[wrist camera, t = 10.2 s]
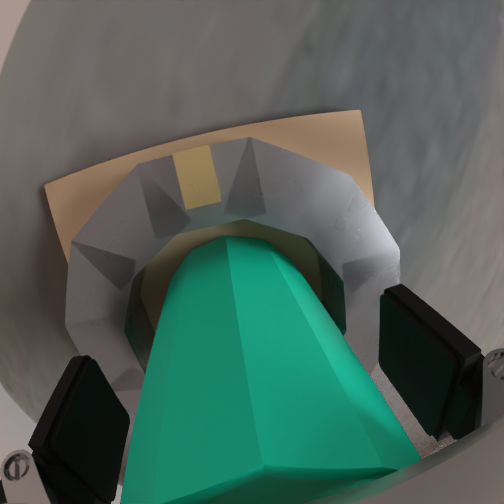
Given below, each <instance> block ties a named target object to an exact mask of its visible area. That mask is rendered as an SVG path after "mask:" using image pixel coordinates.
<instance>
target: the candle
mask: <svg viewBox="0 0 504 504" xmlns="http://www.w3.org/2000/svg"><path fill="white" fill-rule="evenodd" d="M420 460H422V459H421V457H420V455H419V454H418V452H417V451H416V449H415V447H414V446H413V444H412V442H411V441H410V439H409V437H408V436H407V434H406V433H405V431H404V429H403V428H402V426H401V425H400V423H399V421H398V420H397V418H396V417H395V415H394V413H393V412H392V410H391V409H390V407H389V405H388V404H387V402H386V401H385V399H384V398H383V396H382V394H381V393H380V391H379V390H378V388H377V387H376V385H375V384H374V382H373V380H372V379H371V377H370V376H369V374H368V373H367V371H366V370H365V368H364V367H363V365H362V363H361V362H360V360H359V359H358V357H357V356H356V354H355V353H354V351H353V350H352V348H351V347H350V345H349V344H348V342H347V341H346V339H345V338H344V336H343V335H342V333H341V332H340V330H339V329H338V327H337V326H336V324H335V323H334V321H333V320H332V318H331V317H330V315H329V314H328V312H327V311H326V309H325V308H324V306H323V305H322V303H321V302H320V300H319V299H318V297H317V296H316V294H315V293H314V291H313V290H312V289H311V287H310V286H309V284H308V283H307V281H306V280H305V278H304V277H303V275H302V274H301V273H300V271H299V270H298V268H297V267H296V265H295V264H294V262H293V261H292V260H291V259H290V258H289V257H288V256H286V255H285V254H284V253H282V252H281V251H279V250H278V249H277V248H275V247H274V246H272V245H271V244H270V243H268V242H267V241H265V240H264V239H261V238H250V237H240V236H229V235H225V236H222V237H220V238H218V239H216V240H213V241H211V242H209V243H207V244H204V245H202V246H200V247H198V248H195V249H193V250H191V251H190V253H189V254H188V255H187V257H186V258H185V260H184V261H183V262H182V264H181V265H180V267H179V268H178V270H177V271H176V273H175V274H174V275H173V277H172V278H171V281H170V284H169V288H168V291H167V294H166V298H165V301H164V305H163V308H162V312H161V315H160V319H159V323H158V326H157V330H156V334H155V338H154V341H153V345H152V349H151V353H150V357H149V361H148V365H147V369H146V373H145V377H144V382H143V386H142V390H141V395H140V399H139V403H138V408H137V413H136V417H135V422H134V427H133V432H132V437H131V442H130V447H129V453H128V458H127V464H126V470H125V476H124V482H123V488H122V495H121V502H120V504H302V503H306V502H310V501H314V500H317V499H321V498H325V497H328V496H331V495H335V494H338V493H341V492H344V491H347V490H350V489H353V488H356V487H359V486H361V485H364V484H367V483H369V482H372V481H375V480H377V479H380V478H382V477H385V476H387V475H389V474H392V473H394V472H396V471H398V470H401V469H403V468H405V467H407V466H409V465H411V464H414V463H416V462H418V461H420Z"/></svg>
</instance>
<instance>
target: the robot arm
mask: <svg viewBox="0 0 504 504" xmlns="http://www.w3.org/2000/svg"><path fill="white" fill-rule="evenodd" d="M378 361H379V365H380V367H381V369H382V370H383V372H384V373H385V375H386V376H387V377H388V379H389V380H390V382H391V383H392V384H393V386H394V387H395V389H396V390H397V391H398V393H399V394H400V396H401V397H402V399H403V400H404V401H405V403H406V404H407V406H408V407H409V409H410V410H411V412H412V413H413V414H414V416H415V417H416V419H417V420H418V422H419V423H420V425H421V426H422V428H423V429H424V431H425V432H426V433H427V434H428V435H429V436H432V435H433V436H434V437H435V439H436V440H437V442H438V441H440V440H442V439H443V438H445V437H447V436H449V435H451V436H452V437H453V439H455V441H454V443H452V444H451V445H449V446H447V447H445V448H443V449H441V450H440V451H438V452H436V453H434V454H432V455H430V456H428V457H426V458H424V459H422V460H420V461H418V462H416V463H414V464H411V465H409V466H407V467H405V468H403V469H401V470H398V471H396V472H394V473H392V474H389V475H387V476H385V477H382V478H380V479H377V480H375V481H372V482H369V483H367V484H364V485H361V486H359V487H356V488H353V489H350V490H347V491H344V492H341V493H338V494H335V495H331V496H328V497H325V498H321V499H317V500H314V501H310V502H306V503H302V504H504V348H501V349H496V350H493V351H491V352H490V353H488V354H487V355H486V357H484V356H483V355H482V354H481V349H480V348H479V347H478V346H476V345H475V344H474V343H473V342H472V341H471V340H470V339H468V338H467V337H466V336H465V335H464V334H463V333H462V332H460V331H459V330H458V329H457V328H456V327H454V326H453V325H452V324H451V323H450V322H449V321H447V320H446V319H445V318H444V317H443V316H441V315H440V314H439V313H438V312H437V311H435V310H434V309H433V308H432V307H430V306H429V305H428V304H427V303H426V302H424V301H423V300H422V299H421V298H419V297H418V296H417V295H416V294H414V293H413V292H412V291H411V290H409V289H408V288H407V287H405V286H404V285H403V284H398V285H395V286H392V287H389V288H386V289H385V290H384V294H382V295H381V296H380V326H379V355H378ZM129 424H130V418H129V415H128V413H127V411H126V410H125V408H124V407H123V405H122V403H121V402H120V400H119V399H118V397H117V396H116V394H115V392H114V391H113V389H112V387H111V386H110V384H109V382H108V381H107V379H106V377H105V375H104V374H103V372H102V370H101V368H100V367H99V365H98V363H97V361H96V360H95V359H92V358H91V357H90V356H88V355H84V356H76V357H73V358H72V359H71V360H70V362H69V364H68V366H67V368H66V369H65V371H64V373H63V375H62V377H61V379H60V380H59V382H58V384H57V386H56V388H55V390H54V392H53V394H52V396H51V398H50V400H49V401H48V403H47V405H46V407H45V409H44V411H43V413H42V416H41V418H40V420H39V422H38V424H37V426H36V428H35V430H34V432H33V435H32V437H31V439H30V441H29V443H28V445H29V447H30V448H31V449H32V450H33V453H32V455H31V454H30V453H29V452H28V451H25V450H16V451H14V452H12V453H10V454H9V455H8V456H7V457H6V458H5V459H4V461H3V462H2V465H1V468H0V474H1V480H0V504H111V501H114V499H115V496H116V490H117V484H118V479H119V473H120V468H121V463H122V457H123V453H124V448H125V443H126V438H127V433H128V429H129Z"/></svg>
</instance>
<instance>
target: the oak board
mask: <svg viewBox="0 0 504 504" xmlns="http://www.w3.org/2000/svg"><path fill="white" fill-rule="evenodd" d="M247 137H252V138H255V139H257V140H260V141H263V142H266V143H269V144H272V145H275V146H278V147H280V148H283V149H286V150H289V151H291V152H294V153H297V154H299V155H302V156H305V157H307V158H310V159H312V160H315V161H317V162H320V163H322V164H325V165H327V166H330V167H332V168H335V169H337V170H339V171H342V172H344V173H346V174H350V175H351V176H352V178H353V179H354V181H355V182H356V183H357V185H358V186H359V188H360V189H361V190H362V192H363V193H364V195H365V196H366V198H367V199H368V201H369V202H370V204H371V205H372V207H373V208H374V199H373V190H372V181H371V173H370V166H369V159H368V152H367V145H366V139H365V133H364V127H363V122H362V116H361V111H360V110H352V111H341V112H330V113H321V114H313V115H305V116H297V117H290V118H283V119H277V120H271V121H265V122H259V123H253V124H248V125H243V126H238V127H233V128H228V129H223V130H218V131H214V132H209V133H205V134H201V135H196V136H192V137H188V138H184V139H180V140H176V141H173V142H169V143H165V144H161V145H158V146H154V147H151V148H147V149H144V150H141V151H137V152H134V153H131V154H128V155H124V156H121V157H118V158H115V159H112V160H109V161H106V162H103V163H100V164H97V165H95V166H92V167H89V168H86V169H84V170H81V171H78V172H76V173H73V174H70V175H68V176H65V177H63V178H60V179H58V180H55V181H53V182H50V183H48V184H45V185H44V187H45V191H46V195H47V199H48V202H49V206H50V210H51V213H52V217H53V220H54V223H55V227H56V230H57V233H58V236H59V239H60V242H61V245H62V248H63V251H64V254H65V257H66V260H67V263H68V265H69V255H70V247H71V240H72V239H73V238H74V237H75V236H76V234H77V233H78V232H79V231H80V229H81V228H82V227H83V226H84V224H85V223H86V222H87V221H88V219H89V218H90V217H91V216H92V215H93V213H94V212H95V211H96V210H97V209H98V207H99V206H100V205H101V204H102V203H103V202H104V200H105V199H106V198H107V197H108V196H109V195H110V194H111V192H112V191H113V190H114V189H115V188H116V187H117V186H118V185H119V183H120V182H121V181H122V180H123V179H124V178H125V177H126V176H127V175H128V174H129V173H130V172H131V171H132V169H133V168H134V167H135V166H136V165H137V164H138V163H144V162H147V161H151V160H154V159H158V158H161V157H165V156H169V155H172V154H173V153H176V152H180V151H184V150H188V149H192V148H196V147H201V146H205V145H213V144H218V143H222V142H227V141H232V140H237V139H242V138H247ZM374 210H375V209H374ZM225 235H229V236H240V237H250V238H261V239H264V240H265V241H267V242H268V243H270V244H271V245H272V246H274V247H275V248H277V249H278V250H279V251H281V252H282V253H284V254H285V255H286V256H288V257H289V258H290V259H291V260H292V261H293V262H294V264H295V265H296V267H297V268H298V270H299V271H300V273H301V274H302V275H303V277H304V278H305V280H306V281H307V283H308V284H309V286H310V287H311V289H312V290H313V291H314V293H315V294H316V296H317V297H318V299H319V300H320V301H321V299H322V288H321V279H320V271H319V263H318V255H317V253H316V252H315V251H314V250H313V249H312V247H311V246H310V245H309V244H308V243H307V241H306V240H305V239H304V238H303V237H302V236H299V235H296V234H293V233H290V232H286V231H283V230H280V229H277V228H274V227H270V226H267V225H264V224H261V223H257V222H254V221H251V220H247V219H241V220H237V221H232V222H228V223H224V224H219V225H215V226H211V227H206V228H202V229H198V230H194V231H190V232H185V233H181V234H177V235H176V236H175V237H174V238H173V239H172V240H171V241H170V242H169V243H168V244H167V245H166V246H165V247H163V248H162V249H161V250H160V251H159V252H158V253H157V254H156V255H155V256H154V257H153V258H152V259H151V260H150V261H149V262H148V263H147V265H146V269H145V274H144V278H143V283H142V288H141V293H140V296H141V299H142V301H143V304H144V306H145V309H146V312H147V314H148V317H149V319H150V322H151V324H152V327H153V329H154V332H155V334H156V330H157V326H158V323H159V319H160V315H161V312H162V308H163V305H164V301H165V298H166V294H167V291H168V288H169V284H170V281H171V278H172V277H173V275H174V274H175V273H176V271H177V270H178V268H179V267H180V265H181V264H182V262H183V261H184V260H185V258H186V257H187V255H188V254H189V253H190V251H191V250H193V249H195V248H198V247H200V246H202V245H204V244H207V243H209V242H211V241H213V240H216V239H218V238H220V237H222V236H225ZM376 369H377V365H376V366H375V368H374V370H376Z"/></svg>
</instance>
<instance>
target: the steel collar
mask: <svg viewBox="0 0 504 504" xmlns="http://www.w3.org/2000/svg"><path fill="white" fill-rule="evenodd" d="M241 219H247V220H251V221H254V222H257V223H261V224H264V225H267V226H270V227H274V228H277V229H280V230H283V231H286V232H290V233H293V234H296V235H299V236H302V237H303V238H304V239H305V240H306V241H307V243H308V244H309V245H310V246H311V247H312V249H313V250H314V251H315V252H316V253H317V255H318V263H319V271H320V279H321V288H322V299H321V301H320V302H321V303H322V305H323V306H324V308H325V309H326V311H327V312H328V314H329V315H330V317H331V318H332V320H333V321H334V323H335V324H336V326H337V327H338V329H339V330H340V332H341V333H342V335H343V336H344V338H345V339H346V341H347V342H348V344H349V345H350V347H351V348H352V350H353V351H354V353H355V354H356V356H357V357H358V359H359V360H360V362H361V363H362V365H363V367H364V368H365V370H366V371H367V373H368V374H369V376H370V374H371V373H372V371H373V370H374V368H375V366H376V365H377V363H378V355H379V326H380V296H381V295H382V294H384V290H385V289H386V288H389V287H392V286H395V285H398V284H400V248H399V247H398V246H397V244H396V242H395V241H394V239H393V237H392V236H391V234H390V233H389V231H388V230H387V228H386V226H385V225H384V223H383V222H382V220H381V219H380V217H379V216H378V214H377V213H376V211H375V210H374V208H373V207H372V205H371V204H370V202H369V201H368V199H367V198H366V196H365V195H364V193H363V192H362V190H361V189H360V188H359V186H358V185H357V183H356V182H355V181H354V179H353V178H352V176H351V175H350V174H346V173H344V172H342V171H339V170H337V169H335V168H332V167H330V166H327V165H325V164H322V163H320V162H317V161H315V160H312V159H310V158H307V157H305V156H302V155H299V154H297V153H294V152H291V151H289V150H286V149H283V148H280V147H278V146H275V145H272V144H269V143H266V142H263V141H260V140H257V139H255V138H252V137H247V138H242V139H237V140H232V141H227V142H222V143H218V144H213V145H205V146H201V147H196V148H192V149H188V150H184V151H180V152H176V153H173V154H172V155H169V156H165V157H161V158H158V159H154V160H151V161H147V162H144V163H138V164H137V165H136V166H135V167H134V168H133V169H132V171H131V172H130V173H129V174H128V175H127V176H126V177H125V178H124V179H123V180H122V181H121V182H120V183H119V185H118V186H117V187H116V188H115V189H114V190H113V191H112V192H111V194H110V195H109V196H108V197H107V198H106V199H105V200H104V202H103V203H102V204H101V205H100V206H99V207H98V209H97V210H96V211H95V212H94V213H93V215H92V216H91V217H90V218H89V219H88V221H87V222H86V223H85V224H84V226H83V227H82V228H81V229H80V231H79V232H78V233H77V234H76V236H75V237H74V238H73V239H72V240H71V247H70V255H69V265H68V276H67V289H66V309H65V327H66V329H67V331H68V333H69V335H70V337H71V339H72V341H73V343H74V345H75V346H76V348H77V350H78V352H79V354H80V356H84V355H88V356H90V357H91V358H92V359H95V360H96V361H97V363H98V365H99V367H100V368H101V370H102V372H103V374H104V375H105V377H106V379H107V381H108V382H109V384H110V386H111V387H112V389H113V391H114V392H115V394H116V396H117V397H118V399H119V400H120V402H121V403H122V405H123V407H124V408H125V409H127V410H128V411H130V412H131V413H133V414H134V415H136V413H137V408H138V403H139V399H140V395H141V390H142V386H143V382H144V377H145V373H146V369H147V365H148V361H149V357H150V353H151V349H152V345H153V341H154V338H155V332H154V329H153V327H152V324H151V322H150V319H149V317H148V314H147V312H146V309H145V306H144V304H143V301H142V299H141V296H140V293H141V288H142V283H143V278H144V274H145V269H146V265H147V263H148V262H149V261H150V260H151V259H152V258H153V257H154V256H155V255H156V254H157V253H158V252H159V251H160V250H161V249H162V248H163V247H165V246H166V245H167V244H168V243H169V242H170V241H171V240H172V239H173V238H174V237H175V236H176V235H177V234H181V233H185V232H190V231H194V230H198V229H202V228H206V227H211V226H215V225H219V224H224V223H228V222H232V221H237V220H241Z"/></svg>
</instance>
